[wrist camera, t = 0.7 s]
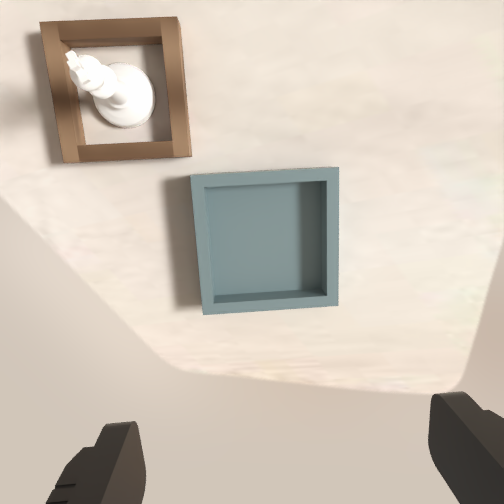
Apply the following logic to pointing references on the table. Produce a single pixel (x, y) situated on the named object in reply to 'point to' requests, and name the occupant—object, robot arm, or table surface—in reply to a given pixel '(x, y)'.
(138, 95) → the chess piece
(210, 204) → the tray
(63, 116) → the collar
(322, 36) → the table surface
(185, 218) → the table surface
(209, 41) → the table surface
